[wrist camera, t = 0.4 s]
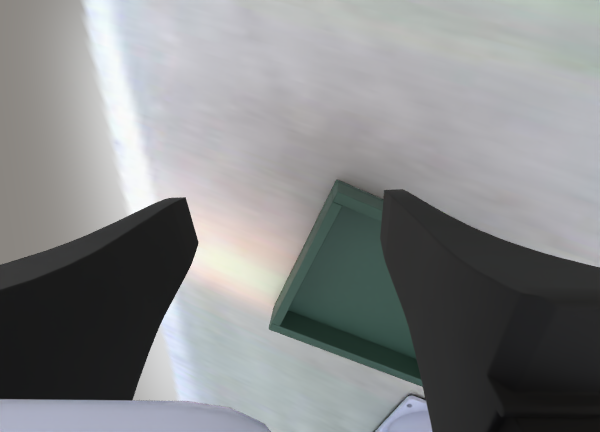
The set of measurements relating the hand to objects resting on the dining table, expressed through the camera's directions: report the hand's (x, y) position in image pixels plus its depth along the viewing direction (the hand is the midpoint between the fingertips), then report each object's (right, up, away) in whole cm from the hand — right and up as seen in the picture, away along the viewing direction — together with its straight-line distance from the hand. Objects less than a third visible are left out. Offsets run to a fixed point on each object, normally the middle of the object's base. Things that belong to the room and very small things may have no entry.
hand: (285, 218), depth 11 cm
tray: (+7, -5, +12) cm, 15 cm away
